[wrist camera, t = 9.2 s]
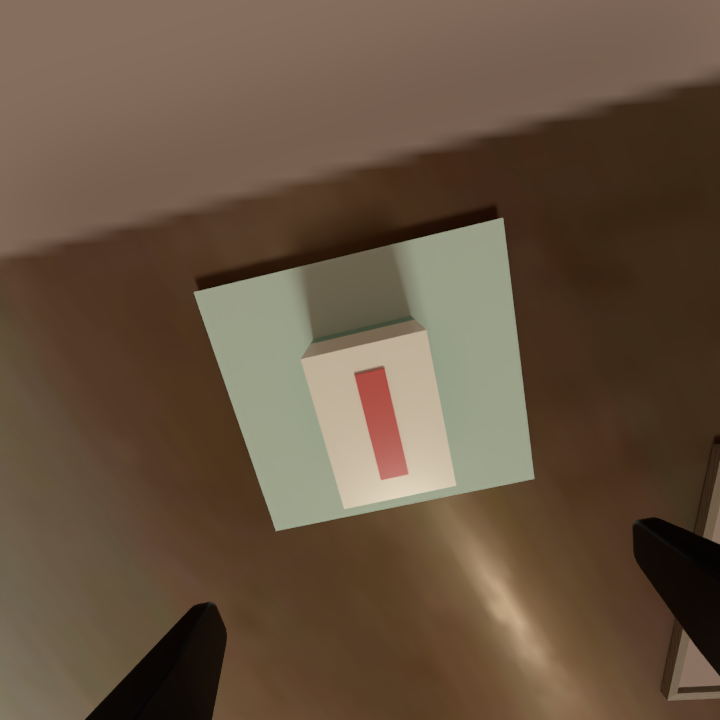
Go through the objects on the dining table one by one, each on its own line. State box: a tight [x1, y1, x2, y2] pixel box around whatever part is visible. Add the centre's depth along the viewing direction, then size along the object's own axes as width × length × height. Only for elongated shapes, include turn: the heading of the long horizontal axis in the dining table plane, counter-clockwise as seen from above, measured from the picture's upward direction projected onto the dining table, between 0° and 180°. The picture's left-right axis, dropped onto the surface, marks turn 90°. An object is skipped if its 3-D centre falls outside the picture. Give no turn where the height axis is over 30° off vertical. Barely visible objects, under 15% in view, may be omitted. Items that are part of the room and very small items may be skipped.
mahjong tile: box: [301, 316, 456, 509], centre depth 16 cm, size 7×5×4 cm
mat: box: [194, 218, 534, 531], centre depth 19 cm, size 15×14×1 cm
